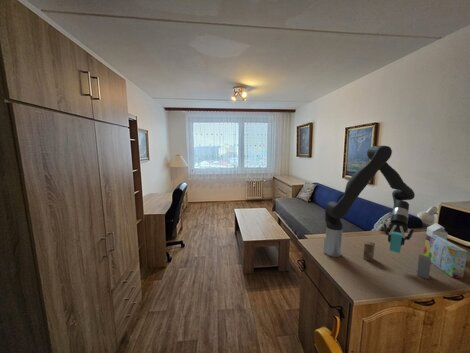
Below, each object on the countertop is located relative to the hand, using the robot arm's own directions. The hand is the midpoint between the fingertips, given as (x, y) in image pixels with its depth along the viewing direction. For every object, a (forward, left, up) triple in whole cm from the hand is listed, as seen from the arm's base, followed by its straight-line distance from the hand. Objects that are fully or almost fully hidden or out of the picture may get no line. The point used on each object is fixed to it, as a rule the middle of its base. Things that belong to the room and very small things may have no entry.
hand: (395, 243), depth 109 cm
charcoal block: (+12, +2, -14) cm, 19 cm away
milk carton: (+18, +40, -15) cm, 46 cm away
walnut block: (-12, +2, -14) cm, 19 cm away
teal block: (0, +2, -5) cm, 5 cm away
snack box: (+20, +20, -15) cm, 32 cm away
